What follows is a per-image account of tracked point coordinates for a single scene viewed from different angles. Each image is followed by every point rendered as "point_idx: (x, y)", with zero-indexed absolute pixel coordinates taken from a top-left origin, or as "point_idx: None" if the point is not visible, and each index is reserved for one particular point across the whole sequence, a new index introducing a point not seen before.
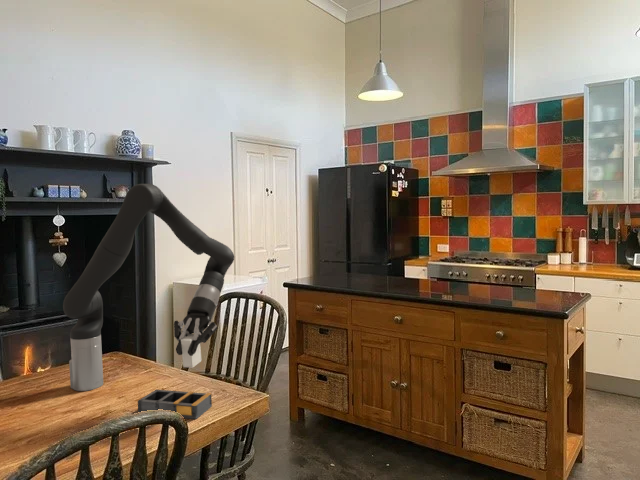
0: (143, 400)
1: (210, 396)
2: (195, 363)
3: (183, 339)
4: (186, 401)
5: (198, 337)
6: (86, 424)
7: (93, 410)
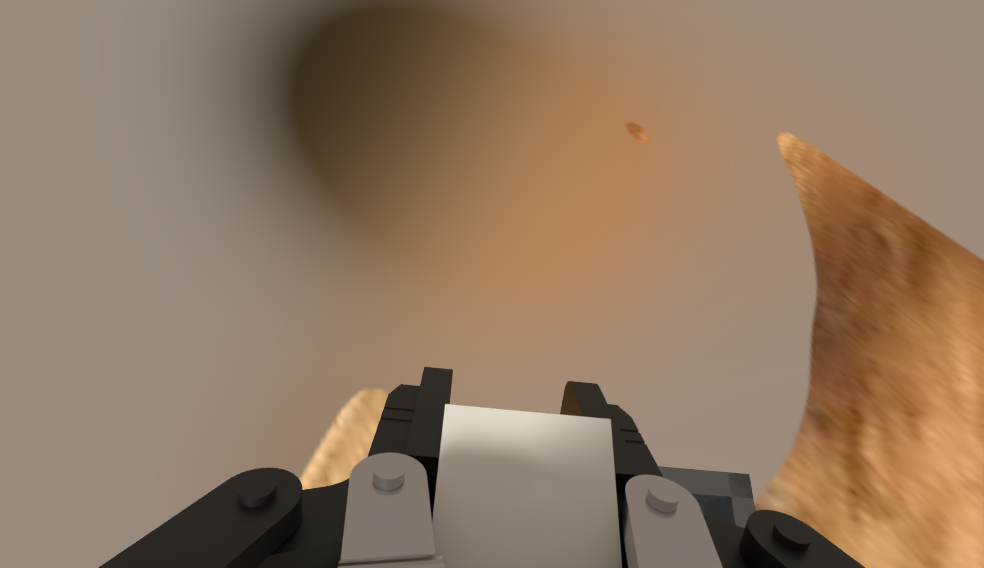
0: (722, 482)
1: None
2: None
3: (582, 444)
4: None
5: (337, 527)
6: (832, 363)
7: (943, 499)
